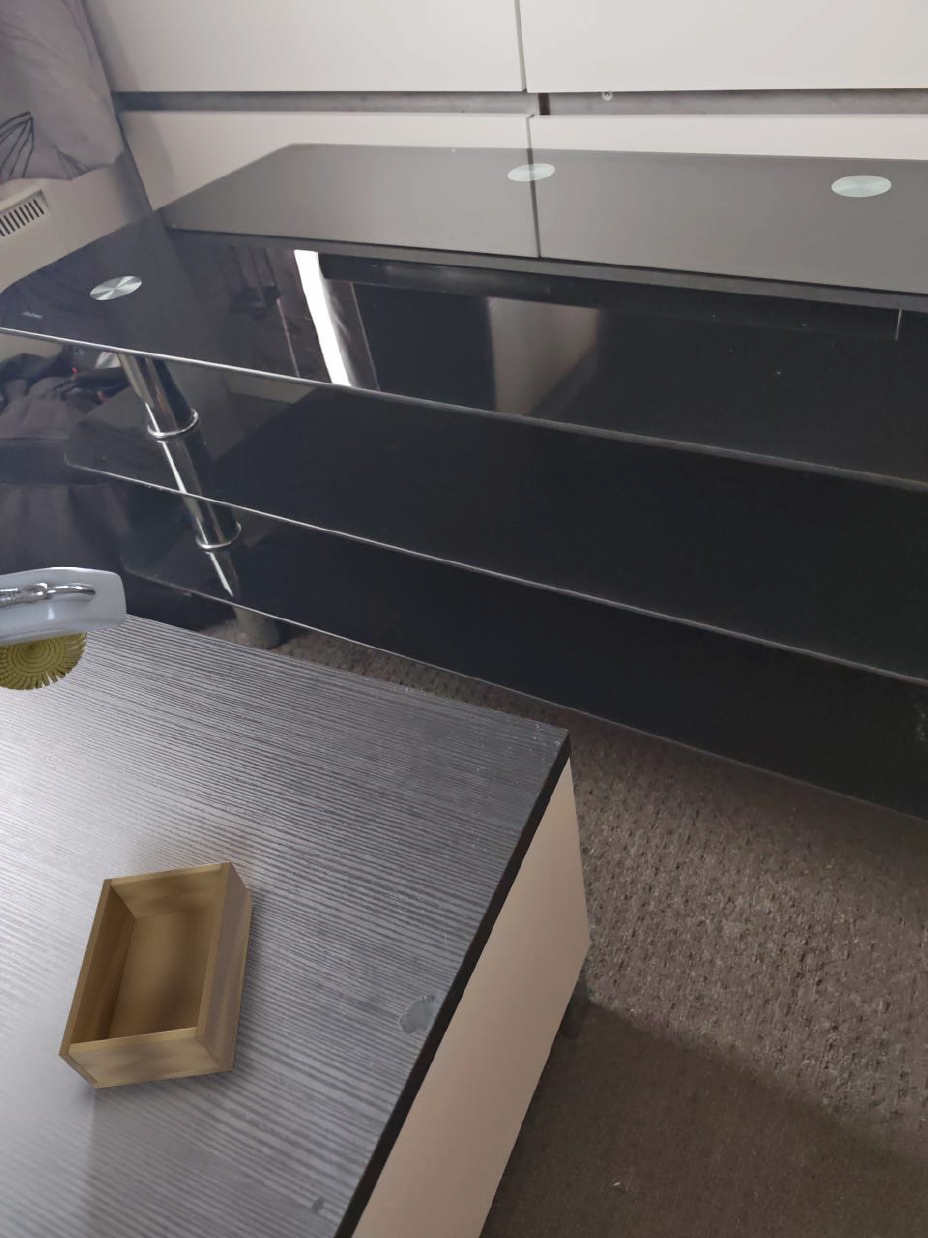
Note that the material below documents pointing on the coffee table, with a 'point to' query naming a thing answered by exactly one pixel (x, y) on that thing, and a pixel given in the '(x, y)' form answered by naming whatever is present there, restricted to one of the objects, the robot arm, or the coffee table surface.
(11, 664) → the sculpture
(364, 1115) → the coffee table surface
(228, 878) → the wooden box
